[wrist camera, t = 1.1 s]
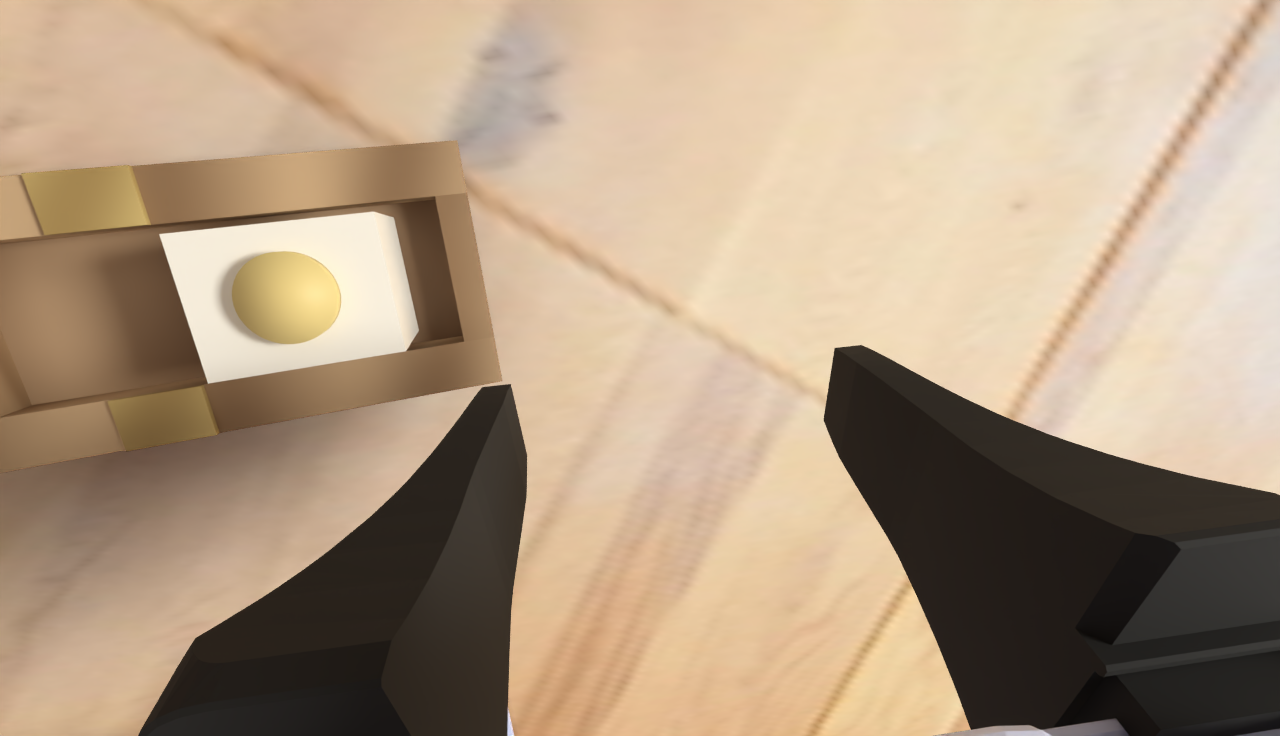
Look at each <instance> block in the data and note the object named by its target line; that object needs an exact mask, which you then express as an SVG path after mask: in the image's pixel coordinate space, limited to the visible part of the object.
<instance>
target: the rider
mask: <svg viewBox="0 0 1280 736" xmlns="http://www.w3.org/2000/svg"><path fill="white" fill-rule="evenodd" d="M159 235H160V238H161V241H162V244H163V247H164V251H165V254H166V257H167V260H168V263H169V266H170V269H171V272H172V275H173V278H174V281H175V284H176V287H177V290H178V293H179V296H180V299H181V302H182V305H183V309H184V312H185V315H186V318H187V321H188V324H189V327H190V330H191V333H192V336H193V339H194V342H195V345H196V348H197V351H198V354H199V357H200V360H201V364H202V367H203V370H204V373H205V376H206V379H207V382H208V384H209V383H215V382H221V381H227V380H233V379H239V378H245V377H252V376H258V375H264V374H270V373H276V372H282V371H288V370H294V369H300V368H306V367H313V366H319V365H325V364H331V363H337V362H343V361H349V360H355V359H361V358H368V357H374V356H380V355H386V354H392V353H398V352H404V351H406V350H407V349H408V347H409V346H410V344H411V342H412V341H413V339H414V338H415V336H416V334H417V333H418V331H419V329H418V324H417V320H416V315H415V311H414V306H413V302H412V297H411V293H410V288H409V284H408V279H407V275H406V270H405V266H404V261H403V257H402V252H401V248H400V243H399V239H398V234H397V230H396V225H395V221H394V217H390V216H387V215H384V214H380V213H377V212H365V213H356V214H346V215H337V216H327V217H318V218H308V219H299V220H289V221H280V222H270V223H261V224H251V225H242V226H232V227H223V228H213V229H204V230H194V231H185V232H175V233H166V234H159Z"/></svg>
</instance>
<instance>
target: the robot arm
mask: <svg viewBox="0 0 1280 736" xmlns="http://www.w3.org/2000/svg"><path fill="white" fill-rule="evenodd" d="M824 422H825V425H826V427H827V430H828V432H829V435H830V437H831V440H832V442H833V444H834V447H835V449H836V451H837V453H838V456H839V458H840V459H841V461H842V463H843V465H844V466H845V468H846V470H847V471H848V473H849V475H850V476H851V478H852V480H853V481H854V483H855V485H856V486H857V488H858V490H859V491H860V493H861V494H862V496H863V498H864V499H865V501H866V503H867V504H868V506H869V508H870V509H871V511H872V512H873V514H874V516H875V517H876V519H877V521H878V522H879V524H880V525H881V527H882V529H883V530H884V532H885V534H886V535H887V537H888V539H889V541H890V542H891V544H892V546H893V548H894V550H895V551H896V553H897V555H898V557H899V559H900V561H901V563H902V565H903V568H904V570H905V572H906V574H907V576H908V578H909V580H910V582H911V584H912V587H913V589H914V591H915V593H916V595H917V597H918V600H919V602H920V604H921V606H922V609H923V611H924V613H925V616H926V618H927V620H928V622H929V625H930V627H931V629H932V632H933V634H934V636H935V638H936V641H937V643H938V646H939V648H940V651H941V653H942V656H943V658H944V661H945V663H946V666H947V668H948V671H949V673H950V676H951V678H952V680H953V683H954V685H955V688H956V690H957V693H958V696H959V698H960V701H961V704H962V707H963V709H964V712H965V715H966V718H967V720H968V723H969V726H970V728H971V730H967V731H960V732H954V733H947V734H941V735H935V736H1280V495H1278V494H1276V493H1271V492H1266V491H1261V490H1256V489H1251V488H1246V487H1242V486H1237V485H1232V484H1227V483H1222V482H1217V481H1212V480H1207V479H1203V478H1198V477H1193V476H1189V475H1185V474H1181V473H1177V472H1173V471H1169V470H1165V469H1161V468H1157V467H1153V466H1149V465H1145V464H1141V463H1138V462H1134V461H1131V460H1127V459H1123V458H1120V457H1116V456H1113V455H1110V454H1106V453H1103V452H1100V451H1097V450H1094V449H1091V448H1088V447H1084V446H1081V445H1078V444H1075V443H1072V442H1069V441H1066V440H1063V439H1060V438H1058V437H1055V436H1052V435H1049V434H1046V433H1044V432H1041V431H1039V430H1036V429H1034V428H1031V427H1029V426H1026V425H1023V424H1021V423H1018V422H1016V421H1013V420H1011V419H1009V418H1006V417H1004V416H1002V415H999V414H997V413H995V412H992V411H990V410H988V409H986V408H984V407H982V406H980V405H978V404H975V403H973V402H971V401H969V400H967V399H965V398H963V397H961V396H959V395H957V394H955V393H953V392H951V391H949V390H947V389H945V388H943V387H941V386H939V385H937V384H935V383H933V382H931V381H930V380H928V379H926V378H924V377H922V376H920V375H918V374H916V373H915V372H913V371H911V370H909V369H907V368H905V367H904V366H902V365H900V364H898V363H896V362H894V361H892V360H891V359H889V358H887V357H885V356H883V355H881V354H879V353H877V352H875V351H873V350H871V349H869V348H867V347H864V346H862V345H859V346H850V347H841V348H835V350H834V356H833V363H832V369H831V376H830V382H829V389H828V395H827V401H826V408H825V414H824ZM526 492H527V453H526V449H525V444H524V440H523V436H522V431H521V427H520V423H519V418H518V414H517V410H516V405H515V401H514V396H513V392H512V388H511V384H508V385H499V386H490V387H482V388H481V390H480V391H479V392H478V393H477V395H476V396H475V397H474V399H473V400H472V401H471V403H470V404H469V405H468V407H467V408H466V410H465V411H464V412H463V414H462V415H461V416H460V418H459V419H458V420H457V422H456V423H455V424H454V426H453V427H452V428H451V430H450V431H449V432H448V433H447V435H446V436H445V437H444V439H443V440H442V441H441V442H440V444H439V445H438V446H437V447H436V449H435V450H434V451H433V452H432V454H431V455H430V456H429V457H428V458H427V459H426V460H425V462H424V463H423V464H422V465H421V466H420V467H419V468H418V470H417V471H416V472H415V473H414V474H413V475H412V476H411V478H410V479H409V480H408V481H407V482H406V483H405V484H404V485H403V486H402V487H401V488H400V489H399V490H398V491H397V492H396V493H395V494H394V495H393V496H392V497H391V498H390V499H389V500H388V501H387V502H386V503H385V504H384V505H383V506H381V507H380V508H379V509H378V510H377V511H376V512H375V513H374V514H373V515H372V516H371V517H369V518H368V519H367V520H366V521H365V522H364V523H362V524H361V525H360V526H359V527H357V528H356V529H355V530H354V531H353V532H351V533H350V534H349V535H348V536H347V537H345V538H344V539H343V540H342V541H340V542H339V543H338V544H337V545H336V546H334V547H333V548H332V549H331V550H329V551H328V552H327V553H325V554H324V555H323V556H322V557H320V558H319V559H317V560H316V561H315V562H313V563H312V564H311V565H309V566H308V567H307V568H305V569H304V570H302V571H301V572H300V573H298V574H297V575H295V576H294V577H292V578H291V579H289V580H288V581H287V582H285V583H284V584H282V585H281V586H279V587H278V588H276V589H275V590H273V591H272V592H270V593H269V594H267V595H266V596H264V597H263V598H261V599H259V600H258V601H256V602H255V603H253V604H251V605H250V606H248V607H246V608H245V609H243V610H242V611H240V612H238V613H237V614H235V615H233V616H232V617H230V618H228V619H227V620H225V621H224V622H222V623H220V624H219V625H217V626H215V627H214V628H212V629H210V630H209V631H207V632H205V633H204V634H202V635H200V636H198V637H197V638H195V640H194V641H193V643H192V644H191V646H190V648H189V649H188V651H187V652H186V654H185V656H184V657H183V659H182V661H181V662H180V664H179V665H178V667H177V669H176V671H175V672H174V674H173V676H172V677H171V679H170V681H169V683H168V684H167V686H166V688H165V689H164V691H163V693H162V695H161V696H160V698H159V700H158V702H157V703H156V705H155V707H154V708H153V710H152V712H151V714H150V715H149V717H148V719H147V720H146V722H145V724H144V726H143V727H142V729H141V731H140V733H139V735H138V736H514V732H513V727H512V723H511V718H510V714H509V709H508V682H509V649H510V625H511V605H512V595H513V586H514V579H515V572H516V565H517V558H518V552H519V545H520V538H521V531H522V524H523V517H524V510H525V503H526Z"/></svg>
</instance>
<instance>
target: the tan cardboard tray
mask: <svg viewBox="0 0 1280 736" xmlns="http://www.w3.org/2000/svg"><path fill="white" fill-rule="evenodd" d="M365 212H377V213H380V214H384V215H387V216H390V217H394V221H395V225H396V230H397V234H398V239H399V243H400V248H401V252H402V257H403V261H404V266H405V270H406V275H407V279H408V284H409V288H410V293H411V297H412V302H413V306H414V311H415V315H416V320H417V324H418V329H419V331H418V333H417V334H416V336H415V338H414V339H413V341H412V342H411V344H410V346H409V347H408V349H407V350H406V351H404V352H398V353H392V354H386V355H380V356H374V357H368V358H361V359H355V360H349V361H343V362H337V363H331V364H325V365H319V366H313V367H306V368H300V369H294V370H288V371H282V372H276V373H270V374H264V375H258V376H252V377H245V378H239V379H233V380H227V381H221V382H215V383H209V384H208V382H207V379H206V376H205V373H204V370H203V367H202V364H201V360H200V357H199V354H198V351H197V348H196V345H195V342H194V339H193V336H192V333H191V330H190V327H189V324H188V321H187V318H186V315H185V312H184V309H183V305H182V302H181V299H180V296H179V293H178V290H177V287H176V284H175V281H174V278H173V275H172V272H171V269H170V266H169V263H168V260H167V257H166V254H165V251H164V247H163V244H162V241H161V238H160V235H159V234H166V233H175V232H185V231H194V230H204V229H213V228H223V227H232V226H242V225H251V224H261V223H270V222H280V221H289V220H299V219H308V218H318V217H327V216H337V215H346V214H356V213H365ZM500 381H502V377H501V371H500V366H499V361H498V356H497V350H496V345H495V340H494V334H493V329H492V324H491V318H490V313H489V308H488V302H487V297H486V292H485V286H484V281H483V276H482V270H481V265H480V260H479V254H478V249H477V244H476V239H475V233H474V228H473V223H472V217H471V212H470V207H469V201H468V196H467V191H466V185H465V180H464V175H463V169H462V164H461V159H460V153H459V148H458V143H457V141H444V142H431V143H419V144H406V145H393V146H380V147H368V148H355V149H342V150H330V151H317V152H304V153H292V154H279V155H266V156H254V157H241V158H228V159H216V160H203V161H190V162H178V163H165V164H152V165H140V166H129V165H124V166H111V167H98V168H86V169H73V170H60V171H47V172H35V173H22V175H13V176H0V473H4V472H9V471H15V470H20V469H26V468H31V467H37V466H42V465H47V464H53V463H58V462H64V461H69V460H75V459H80V458H86V457H91V456H97V455H102V454H107V453H113V452H118V451H124V450H126V452H127V451H133V450H138V449H143V448H149V447H154V446H160V445H165V444H171V443H176V442H181V441H187V440H192V439H198V438H203V437H209V436H214V435H218V434H219V433H222V432H227V431H233V430H238V429H244V428H249V427H255V426H260V425H266V424H271V423H276V422H282V421H287V420H293V419H298V418H304V417H309V416H315V415H320V414H326V413H331V412H336V411H342V410H347V409H353V408H358V407H364V406H369V405H375V404H380V403H386V402H391V401H396V400H402V399H407V398H413V397H418V396H424V395H429V394H435V393H440V392H446V391H451V390H456V389H462V388H467V387H473V386H478V385H484V384H489V383H495V382H500Z"/></svg>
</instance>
